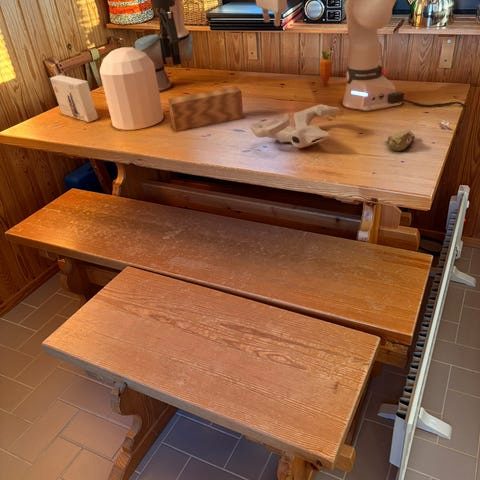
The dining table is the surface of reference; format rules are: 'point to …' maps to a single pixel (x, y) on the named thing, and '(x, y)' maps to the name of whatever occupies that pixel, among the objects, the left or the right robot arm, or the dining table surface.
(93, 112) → the skincare box
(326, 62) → the carrot
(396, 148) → the rock
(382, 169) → the dining table surface
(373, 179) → the dining table surface
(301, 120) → the beige branched piece
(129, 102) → the container
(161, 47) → the left robot arm
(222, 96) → the box
